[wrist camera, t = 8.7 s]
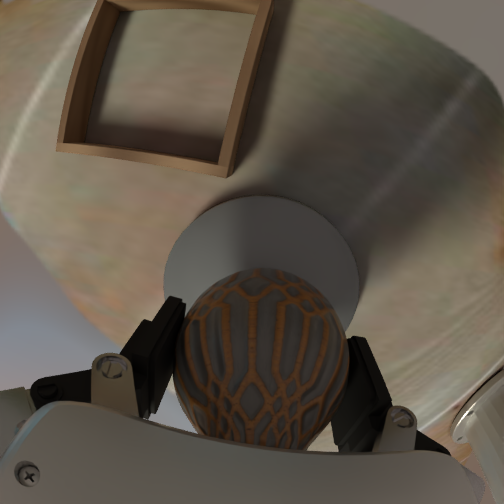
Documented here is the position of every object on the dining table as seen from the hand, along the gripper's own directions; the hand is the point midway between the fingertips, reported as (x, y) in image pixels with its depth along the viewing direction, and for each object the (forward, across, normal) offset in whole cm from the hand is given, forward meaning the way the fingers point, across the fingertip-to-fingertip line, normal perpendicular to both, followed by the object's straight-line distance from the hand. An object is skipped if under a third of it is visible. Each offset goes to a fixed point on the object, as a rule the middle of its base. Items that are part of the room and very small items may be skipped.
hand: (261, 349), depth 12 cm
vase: (+3, 0, 0) cm, 3 cm away
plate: (+6, 0, 0) cm, 6 cm away
